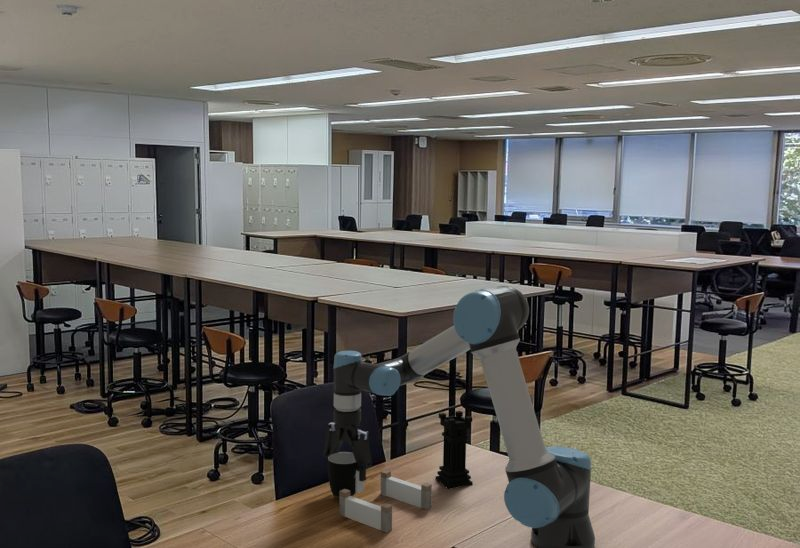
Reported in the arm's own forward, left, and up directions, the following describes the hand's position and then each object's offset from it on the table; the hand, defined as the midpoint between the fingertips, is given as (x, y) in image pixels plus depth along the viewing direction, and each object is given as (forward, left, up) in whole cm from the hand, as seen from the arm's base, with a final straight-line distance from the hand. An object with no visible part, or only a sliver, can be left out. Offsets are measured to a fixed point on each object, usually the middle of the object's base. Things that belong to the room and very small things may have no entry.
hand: (346, 487), depth 198 cm
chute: (-14, 0, -3) cm, 14 cm away
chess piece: (-17, -28, -3) cm, 33 cm away
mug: (+1, 0, -2) cm, 2 cm away
